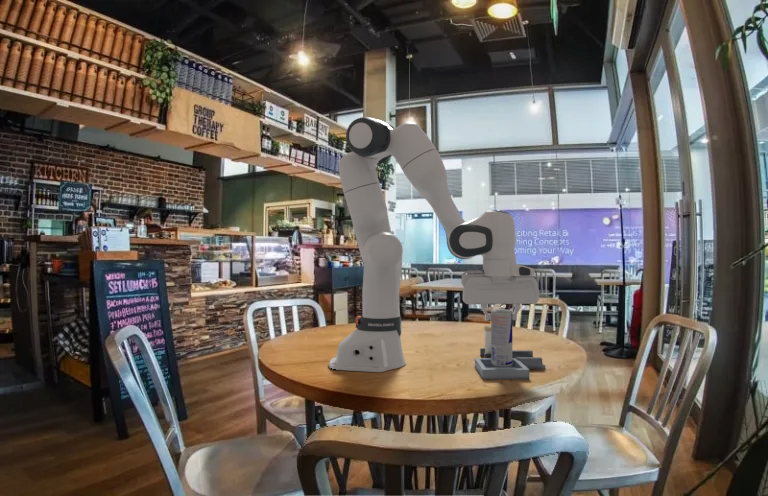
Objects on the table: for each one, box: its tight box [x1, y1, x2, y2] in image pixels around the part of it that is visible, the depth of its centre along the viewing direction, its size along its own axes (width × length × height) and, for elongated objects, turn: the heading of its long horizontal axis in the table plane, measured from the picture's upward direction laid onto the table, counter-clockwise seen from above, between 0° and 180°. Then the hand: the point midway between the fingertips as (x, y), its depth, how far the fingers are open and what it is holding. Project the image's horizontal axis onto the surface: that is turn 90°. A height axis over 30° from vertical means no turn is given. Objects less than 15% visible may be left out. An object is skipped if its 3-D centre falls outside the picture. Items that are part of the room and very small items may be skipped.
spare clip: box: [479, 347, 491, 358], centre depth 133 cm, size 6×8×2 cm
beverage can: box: [490, 308, 513, 367], centre depth 117 cm, size 6×6×15 cm
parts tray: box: [474, 357, 531, 380], centre depth 117 cm, size 12×12×2 cm
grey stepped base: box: [512, 349, 546, 370], centre depth 126 cm, size 8×10×3 cm
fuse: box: [483, 324, 491, 353], centre depth 133 cm, size 5×5×10 cm
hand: (500, 320), depth 117 cm, fingers closed on beverage can, 5 cm apart
